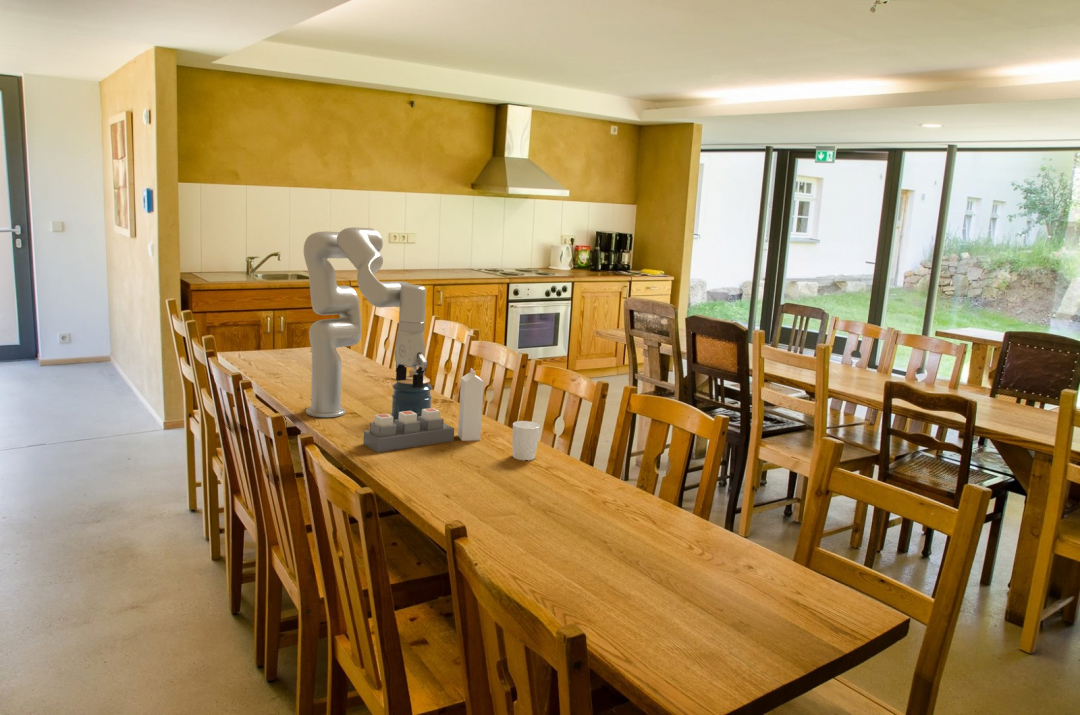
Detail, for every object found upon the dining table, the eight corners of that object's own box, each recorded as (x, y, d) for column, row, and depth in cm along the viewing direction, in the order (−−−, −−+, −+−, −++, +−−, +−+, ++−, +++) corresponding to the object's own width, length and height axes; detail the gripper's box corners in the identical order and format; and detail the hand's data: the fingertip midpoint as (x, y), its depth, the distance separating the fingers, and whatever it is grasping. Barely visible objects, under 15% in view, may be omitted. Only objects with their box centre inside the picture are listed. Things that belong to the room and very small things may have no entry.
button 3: (421, 418, 235) (421, 408, 235) (432, 417, 238) (433, 407, 237) (428, 422, 232) (428, 411, 232) (439, 420, 235) (439, 410, 234)
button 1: (374, 424, 225) (374, 414, 224) (386, 423, 228) (386, 413, 227) (380, 428, 222) (381, 417, 221) (392, 426, 225) (393, 416, 224)
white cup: (540, 455, 229) (542, 423, 227) (532, 463, 221) (535, 429, 219) (515, 451, 231) (517, 419, 229) (507, 458, 223) (509, 426, 221)
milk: (476, 435, 244) (480, 367, 240) (480, 440, 239) (485, 371, 235) (457, 435, 243) (461, 367, 239) (461, 440, 237) (465, 371, 233)
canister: (403, 428, 245) (405, 374, 242) (383, 418, 255) (385, 366, 252) (437, 423, 254) (440, 371, 250) (417, 414, 263) (420, 363, 260)
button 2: (398, 421, 230) (398, 411, 229) (409, 420, 233) (410, 410, 232) (404, 425, 227) (405, 414, 226) (416, 423, 230) (417, 413, 229)
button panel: (363, 443, 227) (364, 421, 226) (438, 432, 243) (439, 412, 242) (377, 452, 220) (378, 429, 219) (453, 440, 237) (454, 419, 235)
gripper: (386, 322, 228) (383, 378, 232) (415, 332, 215) (412, 391, 219) (408, 322, 233) (405, 376, 236) (438, 331, 220) (435, 389, 223)
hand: (409, 383), depth 228 cm, fingers open, 9 cm apart
